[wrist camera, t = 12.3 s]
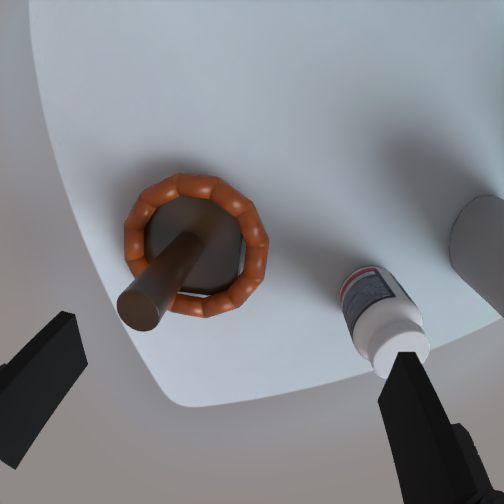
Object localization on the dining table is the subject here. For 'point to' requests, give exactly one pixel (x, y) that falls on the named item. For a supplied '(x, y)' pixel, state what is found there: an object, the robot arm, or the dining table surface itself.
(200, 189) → the ring
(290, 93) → the dining table surface
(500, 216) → the cup
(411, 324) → the pill bottle
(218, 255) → the post
